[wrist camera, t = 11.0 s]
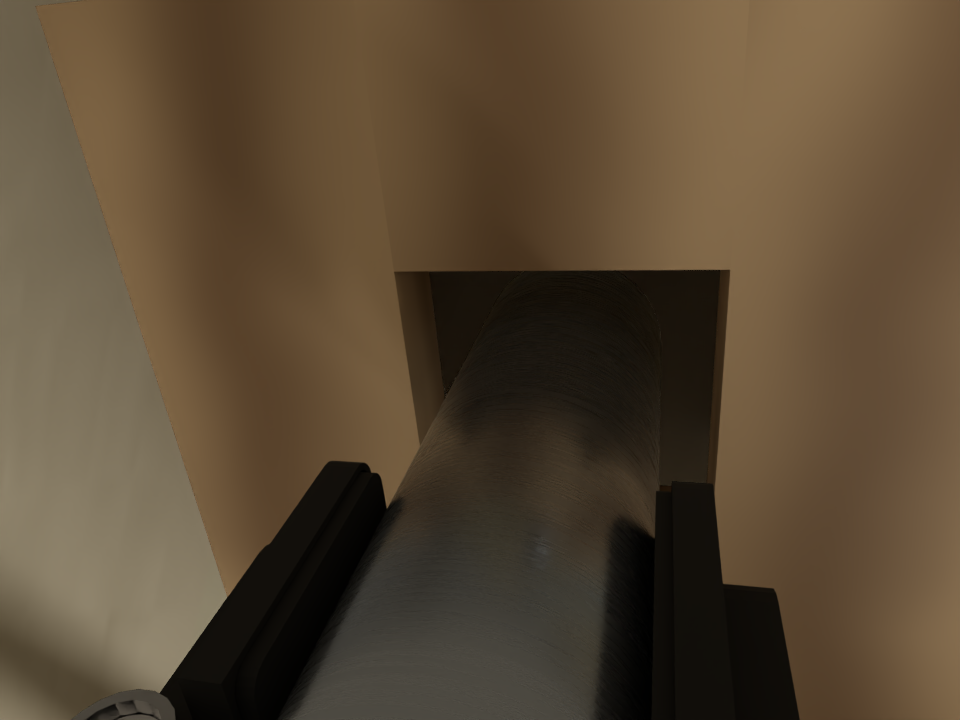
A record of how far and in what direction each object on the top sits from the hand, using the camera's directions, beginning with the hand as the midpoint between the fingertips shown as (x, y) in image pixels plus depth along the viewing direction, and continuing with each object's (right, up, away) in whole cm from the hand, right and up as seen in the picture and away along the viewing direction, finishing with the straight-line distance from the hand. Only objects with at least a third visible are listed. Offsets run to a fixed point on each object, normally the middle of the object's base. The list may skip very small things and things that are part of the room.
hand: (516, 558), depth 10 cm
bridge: (+3, +5, +10) cm, 11 cm away
